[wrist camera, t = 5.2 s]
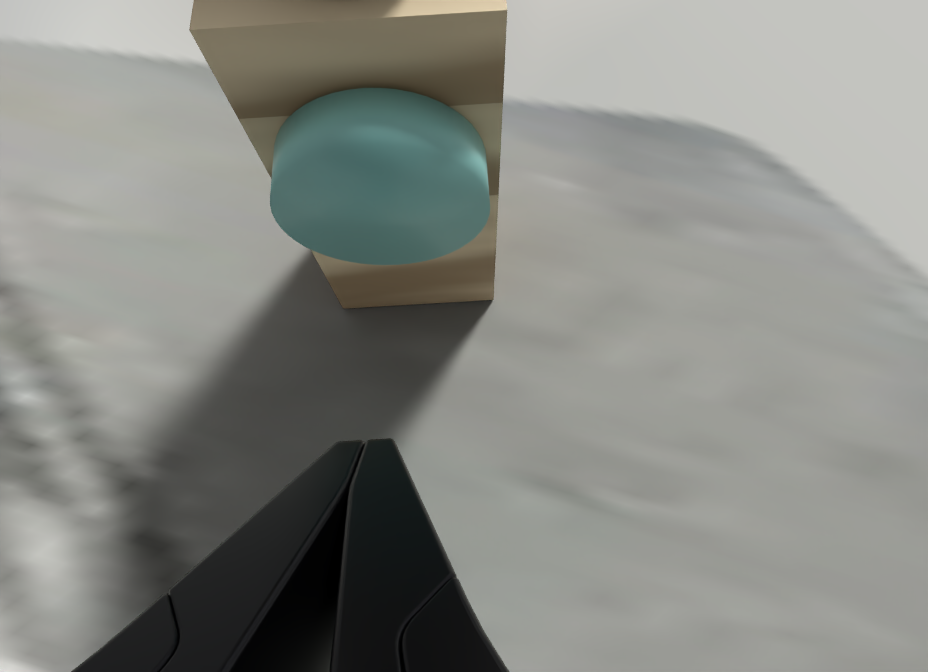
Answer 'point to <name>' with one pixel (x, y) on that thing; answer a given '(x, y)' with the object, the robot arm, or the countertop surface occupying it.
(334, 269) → the mount
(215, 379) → the countertop surface
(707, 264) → the countertop surface
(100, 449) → the countertop surface
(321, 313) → the countertop surface
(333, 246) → the knob
